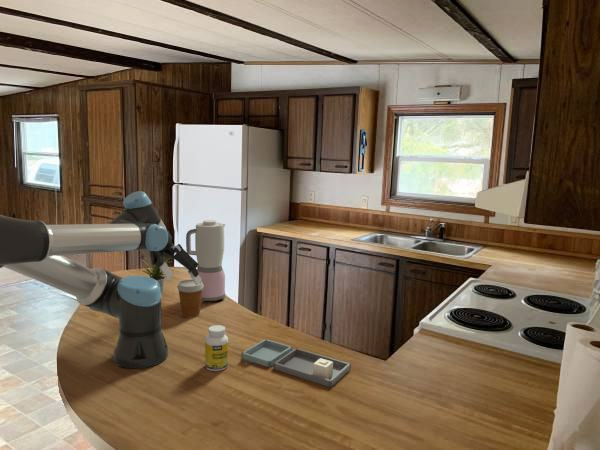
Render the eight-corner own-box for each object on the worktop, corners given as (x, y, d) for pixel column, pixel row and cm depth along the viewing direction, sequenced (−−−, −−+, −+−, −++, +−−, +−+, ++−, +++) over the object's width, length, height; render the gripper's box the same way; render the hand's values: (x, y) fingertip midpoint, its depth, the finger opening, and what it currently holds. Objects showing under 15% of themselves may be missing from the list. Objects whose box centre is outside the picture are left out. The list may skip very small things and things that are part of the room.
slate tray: (269, 370, 135) (269, 361, 135) (241, 360, 140) (241, 352, 140) (292, 354, 145) (292, 346, 145) (265, 346, 151) (265, 338, 150)
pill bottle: (206, 373, 132) (205, 333, 130) (204, 362, 138) (204, 324, 136) (229, 370, 134) (229, 331, 132) (226, 360, 140) (227, 323, 138)
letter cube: (325, 381, 128) (326, 367, 127) (312, 377, 130) (313, 363, 130) (332, 375, 132) (333, 361, 131) (319, 371, 134) (320, 357, 133)
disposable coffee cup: (200, 319, 171) (200, 287, 169) (174, 318, 171) (173, 286, 169) (206, 310, 180) (206, 279, 178) (181, 309, 181) (181, 278, 178)
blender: (220, 292, 202) (220, 218, 196) (229, 301, 191) (230, 222, 186) (182, 296, 195) (182, 219, 189) (190, 306, 184) (189, 224, 178)
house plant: (184, 291, 201) (184, 254, 198) (158, 300, 190) (158, 260, 187) (161, 285, 209) (160, 249, 206) (135, 293, 197) (133, 254, 194)
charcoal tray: (330, 390, 125) (331, 381, 125) (273, 371, 134) (273, 363, 134) (350, 371, 136) (350, 363, 135) (296, 355, 145) (296, 347, 144)
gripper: (190, 228, 152) (217, 276, 164) (138, 225, 165) (166, 269, 177) (176, 244, 147) (205, 292, 159) (123, 239, 160) (153, 283, 172)
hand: (184, 280), depth 168 cm, fingers open, 13 cm apart
